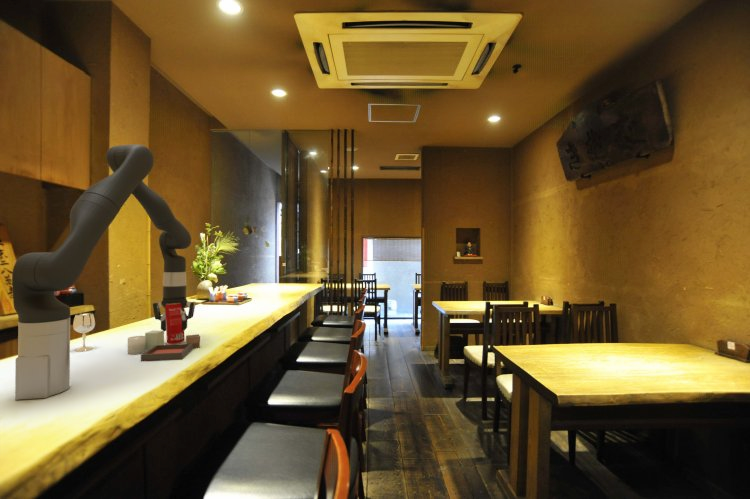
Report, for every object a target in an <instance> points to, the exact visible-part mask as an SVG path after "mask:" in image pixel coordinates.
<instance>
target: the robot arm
mask: <svg viewBox="0 0 750 499" xmlns="http://www.w3.org/2000/svg"><path fill="white" fill-rule="evenodd" d="M105 157H106V162H107V164H108V166H109V168H110V169H111V171H112V172H113V173H111V174H109V175H108V176H106V177H105V178H102V179H101V180H99V181H98V182H96V183H95V184H93V185H91V186H89V187H88V188H87V189H86V190H85V191H84V192H83V193H82V194H81V195H80V196H79V197H78V199H77V200H76V201H75V203H74V204H73V205H72V207H71V208H70V209H71V210H70V212H69V225H70V228H69V230H70V231H69V233H68V235H67V237H66V238H65V240H64V241H63V242H62V243H61V245H60V246H59V247H58V248H57V249H56V250H55V251H54V252H48V251H47V252H46V251H45V252H40V251H39V252H28V253H26V254H25V253H24V254H23V255H21V256H19V258H18V259H17V260H16V261H15V263H14V265H13V268H12V273H11V281H12V282H11V285H12V301H13V309H14V311H15V312H16V315H17V318H18V326H17V327H18V328H17V331H18V333H17V334H18V336H17V344H18V345H17V357H16V358H15V371H14V372H15V381H14V382H15V383H14V384H15V387H14V388H15V389H14V390H15V391H14V392H15V393H14V394H15V395H14V398H15V399H14V400H15V401H17V400H31V399H44V398H45V399H47V398H48V397H50V396H54V395H58V394H60V393H63V392H65V391H67V390H68V389H70V387H71V386H70V382H71V381H70V379H71V378H70V376H71V370H70V369H71V368H70V367H71V360H70V359H71V357H70V356H71V308H70V306H69V305H67V304H66V303H64V302H62V301H60V300H59V299H58V298H57V297H56V295H55V292H63V291H65V290H68V289H70V288H71V287H72V286H73V285H75V283H76V282H77V281H78V280H79V278H80V276H81V275H82V273H83V271H84V269H85V268H86V265H87V263H88V261H89V259H90V257H91V256H92V253H93V252H94V250H95V247H97V244H98V243H99V241H101V239H102V237H103V236H104V234H105V232H107V229H108V228H109V227H110V225H111V224H112V223H113V221H114V220H115V218H116V217H117V216H118V214H119V213H120V210H121V209H122V208H123V206H124V205H125V203H126V202H127V200H128V199H129V198H130V196H131V195H132V196H134V198H135V199H136V200H137V201H138V202H139V204H140V206H142V207H143V210H144V211H145V213H146V214H147V216H148V218H149V219H150V220H151V222H152V224H153V225H154V227H155V228H156V229H158V230H160V231H162V232H160V234H159V237H158V244H159V248H160V252H161V256H162V258H163V276H162V300H161V301H159V302H158V301H157V302H154V303H152V309H153V314H154V318H155V320H158V321H160V331H164V332H166V318H165V315H166V313H165V306H166V304H172V303H176V304H177V303H181V306H182V309H183V311H182V309H181V308H180V314H181V315H182V320H183V321H182V331H184V332H185V331H186V329H187V328H188V320H189V319H192V318H193V317H194V314H195V308H196V302H195V301H188V300H187V285H188V284H187V281H188V280H187V269H186V268H187V266H186V265H187V259H186V257H185V256H183V255H180V254H178V253H177V250H185V249H187V248H189V247H190V246H191V243H192V236H191V233H190V231H189V230H188V229H187V228H186V227H185V226H184V225H183V224H182V223H181V221H180V220H178V219H177V218H176V216H175V214H174V212H173V211H172V209H171V207H170V205H169V204H168V203H167V201H165V199H164V198H163V197H162V196H160V195H159V194H158V192H155V191H154V190H153V189H152V188H150V187H149V186H148V185H147V184H146V183H145V182H144V179H146V177H147V176H148V175H149V174H150V173H151V171H152V170H153V168H154V164H155V160H154V159H155V157H154V153H153V152H152V150H151V149H150V148H149V147H148V146H145V145H142V144H135V143H134V144H121V145H114V146H111V147H109V148H108V150H107V152H106V156H105ZM186 306H187V308H188V314H187V311H186V310H185V307H186ZM161 307H163V309H164V310H163V312H162V313H161ZM161 314H162V315H161Z"/></svg>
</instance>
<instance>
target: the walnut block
mask: <svg viewBox="0 0 750 499" xmlns="http://www.w3.org/2000/svg"><path fill="white" fill-rule="evenodd" d="M185 344H193V349H199V348H201V336H200V334H190V335H189V334H188V335H186V336H185Z"/></svg>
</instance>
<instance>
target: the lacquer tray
mask: <svg viewBox="0 0 750 499" xmlns="http://www.w3.org/2000/svg"><path fill="white" fill-rule="evenodd" d="M192 351H193V344H186V343H180V344H171V345H169V344H164V345H155V346H153V347H152V348H150V349H149V350H147V351H146V352H144V353H142V354H140V362H157V361H177V360H180V361H181V360H183V359H184V358H185V357H186V356H187V355H189V354H190V353H191V352H192Z"/></svg>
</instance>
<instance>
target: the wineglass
mask: <svg viewBox="0 0 750 499" xmlns="http://www.w3.org/2000/svg"><path fill="white" fill-rule="evenodd" d="M72 324H73V325H72V328H73V330H74V331H75V332H77V333H80V334H82V336H81V337H82V340H83V341H82V346H81V347H79V348H76V349H75V352H87V351H92V349H93V348H92V347H90V346H89V347H88V346H86V337H87V334H86V333H89V332H91V331H93V330H94V328H95V326H96V321H95V316H94V313H93V312H85V313H77V314H75V316H74V318H73V322H72Z"/></svg>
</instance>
